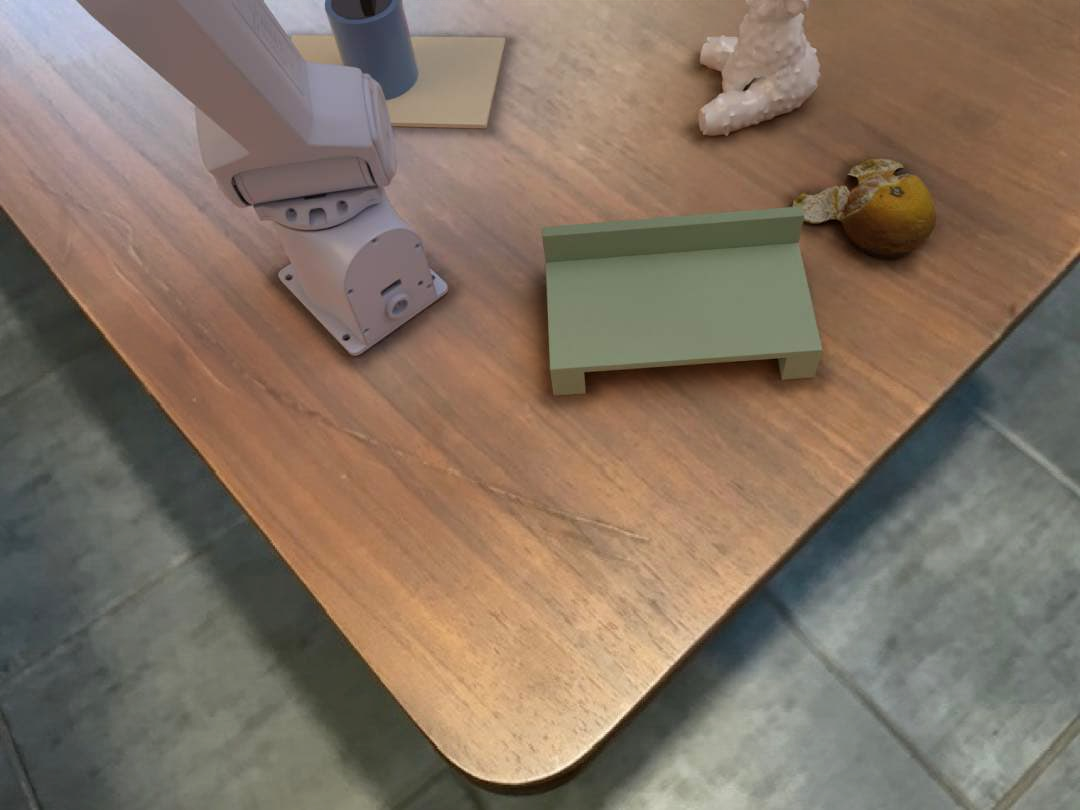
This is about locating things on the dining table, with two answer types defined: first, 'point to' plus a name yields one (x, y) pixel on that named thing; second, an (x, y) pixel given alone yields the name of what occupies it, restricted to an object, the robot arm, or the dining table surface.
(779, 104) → the seated beast figurine
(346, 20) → the cup
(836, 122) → the dining table surface
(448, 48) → the mat
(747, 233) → the shelf
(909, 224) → the fruit
